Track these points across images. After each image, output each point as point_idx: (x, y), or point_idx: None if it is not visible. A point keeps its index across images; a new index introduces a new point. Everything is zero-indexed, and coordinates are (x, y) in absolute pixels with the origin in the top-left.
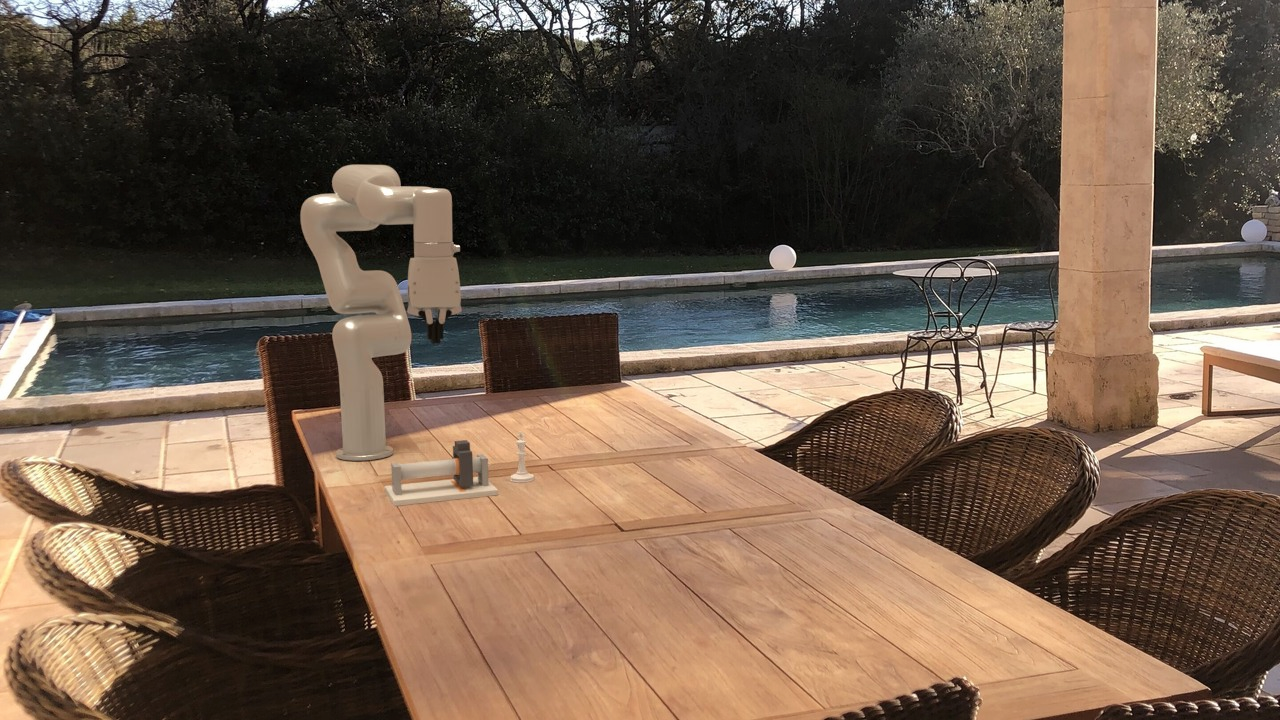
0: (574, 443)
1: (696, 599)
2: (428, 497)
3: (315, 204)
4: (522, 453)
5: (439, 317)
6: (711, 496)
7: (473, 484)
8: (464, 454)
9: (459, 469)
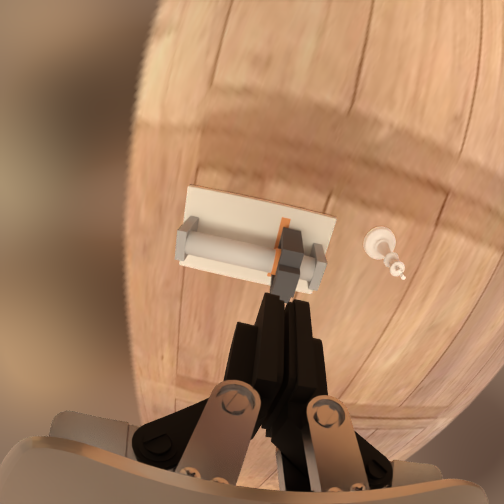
0: None
1: None
2: (221, 274)
3: None
4: (388, 266)
5: (279, 468)
6: (438, 380)
7: None
8: None
9: (272, 277)
